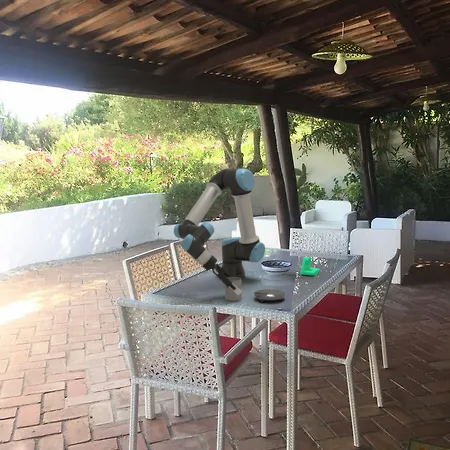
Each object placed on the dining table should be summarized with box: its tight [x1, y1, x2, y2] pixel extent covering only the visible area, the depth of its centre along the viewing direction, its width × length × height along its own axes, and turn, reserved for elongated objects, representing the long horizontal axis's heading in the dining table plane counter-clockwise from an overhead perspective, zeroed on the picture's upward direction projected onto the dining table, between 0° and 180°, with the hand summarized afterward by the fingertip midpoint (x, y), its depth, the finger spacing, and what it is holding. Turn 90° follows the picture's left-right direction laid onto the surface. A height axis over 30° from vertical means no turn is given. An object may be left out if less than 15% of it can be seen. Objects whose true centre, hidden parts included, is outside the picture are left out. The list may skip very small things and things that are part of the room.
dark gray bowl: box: [253, 288, 286, 303], centre depth 243 cm, size 15×15×3 cm
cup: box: [224, 277, 243, 302], centre depth 245 cm, size 8×8×10 cm
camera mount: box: [299, 256, 321, 276], centre depth 292 cm, size 12×8×10 cm, turn 147°
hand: (239, 290), depth 246 cm, fingers closed on cup, 8 cm apart
